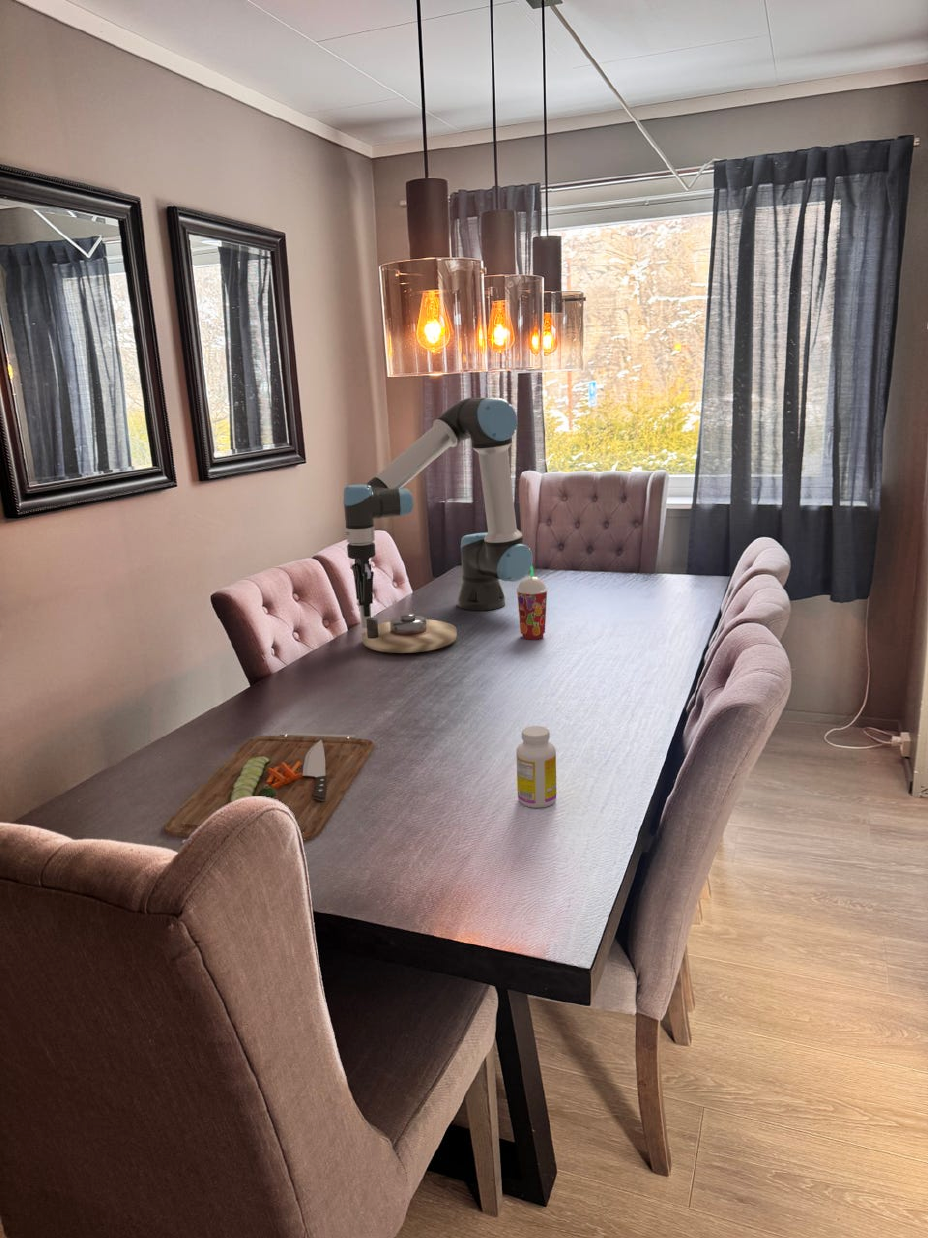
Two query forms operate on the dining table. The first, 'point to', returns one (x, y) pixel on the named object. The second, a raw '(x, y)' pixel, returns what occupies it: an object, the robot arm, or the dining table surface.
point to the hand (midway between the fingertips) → (366, 626)
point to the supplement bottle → (536, 768)
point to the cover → (408, 625)
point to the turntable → (408, 637)
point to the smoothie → (532, 607)
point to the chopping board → (281, 779)
